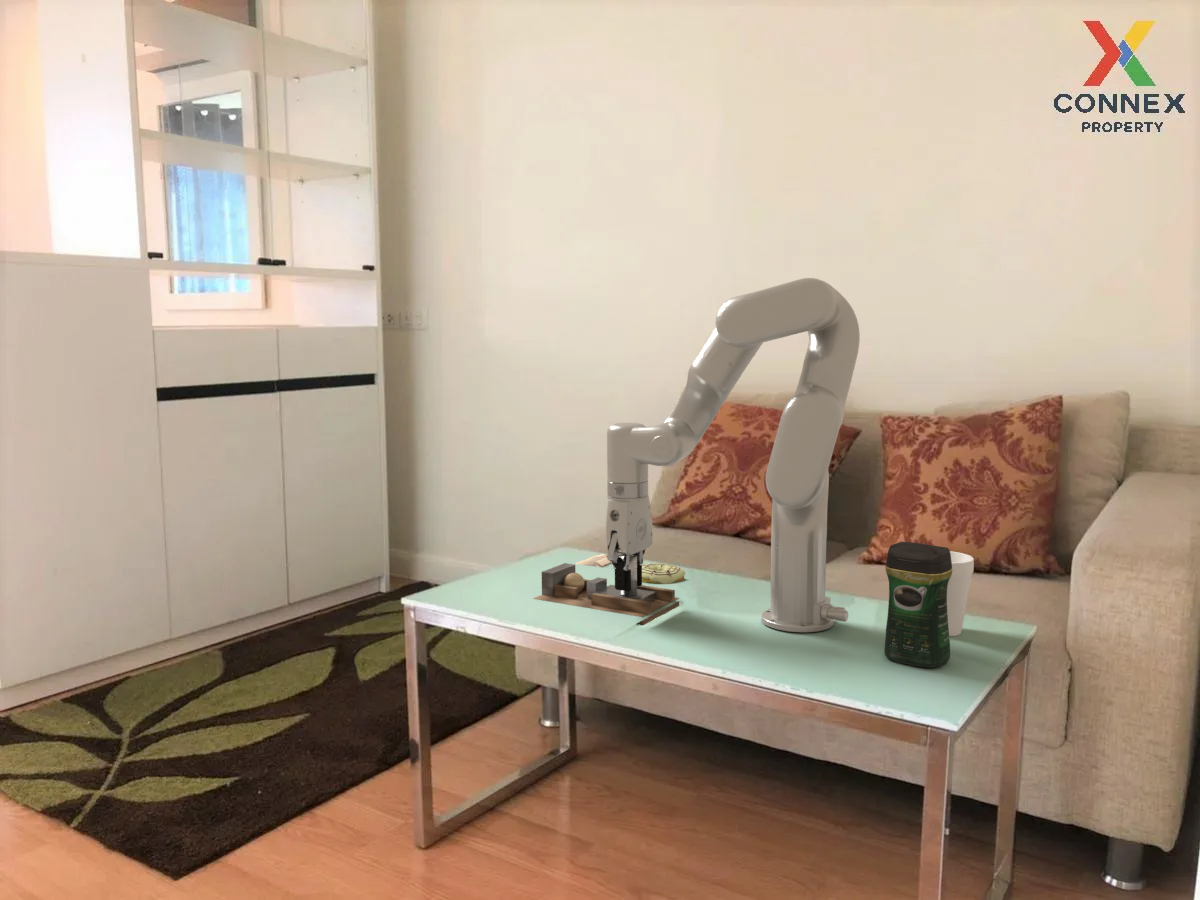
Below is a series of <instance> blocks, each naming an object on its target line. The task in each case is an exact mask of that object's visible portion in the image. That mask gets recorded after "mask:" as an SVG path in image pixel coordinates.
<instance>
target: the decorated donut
mask: <svg viewBox="0 0 1200 900" xmlns="http://www.w3.org/2000/svg"><path fill="white" fill-rule="evenodd" d="M685 576H686V572H685V570H684V569H683V568H681V567H679V566H676V565H672V564H666V563H657V562H656V563H646V564H644V563H643V564H642V583H646V584H647V583H649V584H661V585H666V584H667V585H668V584H673V583H679V582H681V581H683V580H685Z"/></svg>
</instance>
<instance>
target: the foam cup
mask: <svg viewBox="0 0 1200 900" xmlns="http://www.w3.org/2000/svg"><path fill="white" fill-rule="evenodd" d="M950 554H951V562H952V575H951V577H950V579H949V582H948V586H947V615H948V628H949V637H956V636H959V635H961V633H962V630H963V626H964V619H965V614H966V609H967V602H968V599H969V591H970V587H971V581H972V577H973V576H972V574H973V573H974V568H975V566H974V565H975V562H974V561H975V558H974V557H973V556H972V555H969V554H966V553H964V552H963V553H962V552H958V551H953V550H952V551H950Z"/></svg>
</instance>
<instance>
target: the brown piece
mask: <svg viewBox="0 0 1200 900" xmlns="http://www.w3.org/2000/svg"><path fill="white" fill-rule="evenodd" d="M570 573H576V564H575V563H574V564H572V563H566V562H564V563H561V564H559V565H556V566H554V567H550V568H548V569H546V570H543V571H541V594H540V595H537V596H536V597H533V598H532V599H533V600H536V601H537V600H539V601H543V602H550V603H556V604H563V605H567V606H574V607H580V608H584V609H591V610H597V611H598V610H599V611H604V612H610V613H614V614H615V613H616V614H622V615H628V616H634V617H639V618H644V619H642V620H641V621H638V622H637V623H636V624H635V625H639V624H640V626H644V625H646V624H648V623H651V622H652V621H654V620H656V619H657V617H658V618H659V617H662V615H665V614H667V613H669V612H670V610H671V611H673V610H674V609H676V608H678V607H680V598H679V597H676V596H675V595H676V594H675V593H676V591H675V589H671V588H670V589H669V588H663V587H658V586H657V587H655V586H649V585H643V584H642V585H641V586H637V589H642V590H649V591H655V592H656V600H654V601H652V602H650V601H643V600H637V599H631V598H624V597H618V596H612V595H605V594H599V593H593V594H591V598H587V582H588V581H591V580H592V579H591V580H590V579H585V578H583V579H584V587H583V589H582V590H581V591H580V592H579V593H578V588H577V587H571V586H564V579H565V577H566V576H567V575H568V574H570ZM677 600H679V601H677ZM675 601H676V602H675ZM673 602H675V603H673ZM672 603H673V604H672ZM668 605H669V606H668ZM665 606H667V607H665ZM663 607H665V608H663ZM662 608H663V609H662ZM660 609H661V610H660ZM672 609H673V610H672ZM658 610H659V611H658ZM656 611H658V612H656ZM654 612H656V613H654ZM652 613H653V614H652ZM650 614H652V615H650ZM648 615H650V616H648ZM647 616H648V617H647ZM645 617H646V618H645ZM655 618H656V619H655Z"/></svg>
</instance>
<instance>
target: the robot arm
mask: <svg viewBox="0 0 1200 900" xmlns="http://www.w3.org/2000/svg"><path fill="white" fill-rule="evenodd" d="M714 323H715V327H714V328H713V330H712V331H711V333H710V335H709V336H708V338H707V339H706V341H705V342H704V344H703V345H702V347H701V349H700V350H699V351H698V353H697V354H696V356H695V358H694V359H693V361H692V362H691V364H690V365H689V368H688V371H687V378H686V379H687V380H686V383H685V388H684V389H683V392H682V394H681V395H680V398H679V399H678V401H677V403H676V404H675V406H674V407H673V408H672V410H671V412H670V413H669V414H668V417H667V418H666V419H665V421H664V422H663V423H660V424H658V425H653V426H652V425H651V426H645V424H643V423H637V422H618V423H614V424H611V425H609V427H608V428H607V430H606V464H607V465H606V468H607V469H606V470H607V471H606V473H607V474H606V475H607V489H606V490H607V499H608V502H607V507H606V519H605V520H606V521H605V545H606V550H607V559H608V560H609V561H611V562H612V563H611V565H612V569H614V585H615V589H616V590H622V591H630V590H631V570H629V559H630V555H636V556H637V586H641V585H643V582H642V565H644V554H645V553H646V552H645V551H646V550H647V549H649V548H650V547H651V546H652V544H653V542H654V541H653V537H654V536H653V520H652V519H653V518H652V509H651V501H650V498H649V497H650V496H649V465H651V466H657V467H671V466H674V465H675V464H677V463H679V462H680V461H682V460H683V459H685V458H686V457H688V456H690V454H691V453H692V452H693V451H694V449H695V448H696V447H697V445H698V444H699V442H700V441H701V439H702V438H703V436H704V435H705V433H706V432H707V430H708V429H709V428H710V425H711V424H712V422H713V420H714V419H715V418H716V416H717V414H718V412H719V411H720V409H721V408H722V407H723V405H724V404H725V402H726V400H727V399H728V398H729V396H730V393H731V392H732V390H733V389H734V387H735V386H736V385H737V383H738V381H739V380H740V379H741V376H742V375H743V373H745V370H746V369H747V367H748V366H749V365H750V363H751V361H752V360H753V358H754V357H755V356H756V354H757V352H758V351H759V349H760V348H761V346H762V345H763V343H766V342H770V341H774V340H777V339H782V338H786V337H789V336H793V335H797V334H802V333H806V332H807V336H808V345H807V349H806V353H805V356H804V360H803V364H802V368H801V372H800V375H799V376H800V377H799V379H798V382H797V385H796V389H795V391H794V393H793V395H792V396H790V398H789V399H788V400H787V401H786V404H785V405H784V408H783V411H782V412H781V413H782V414H781V417H780V420H779V422H778V423H779V424H778V427H777V431H776V435H775V439H774V443H773V446H772V450H771V453H770V456H769V462H768V465H767V468H766V473H765V485H766V489H767V492H768V494H769V495H770V498H772V500H771V501H772V507H771V536H770V608H768V609H766V610H764V611H763V612H762V613H761V622H762V623H763V624H764V625H765V626H767V627H769V628H772V629H774V630H779V631H784V632H791V633H814V632H821V631H825V630H828V629H830V628H832V627H833V626H834V624H835V621H839V622H845V623H846V622H847V621H848V619H849V610H846V607H843V606H834V605H833V604H832V603H831V597H829V596H826V583H827V582H826V576H827V575H826V573H827V571H826V569H827V538H828V537H827V536H828V534H827V533H828V532H827V531H828V505H829V504H828V501H829V486H830V483H829V482H830V475H829V474H830V473H829V467H830V464H831V460H832V456H833V452H834V450H835V447H836V446H835V445H836V442H837V439H838V435H839V431H840V428H841V426H842V425H843V420H844V415H845V408H846V403H847V398H848V394H849V391H850V388H851V383H852V379H853V375H854V371H855V367H856V362H857V358H858V354H859V349H860V342H861V341H860V339H861V338H860V327H859V326H860V325H859V322H858V319H857V315H856V313H855V310H854V309H853V307H852V305H851V304H850V303H849V301H848V300H847V299H846V298H845V297H844V296H843V295H842V294H841V292H839V291H838V290H837V289H836V288H834V287H833V286H832V285H831V284H829V283H828V282H826V281H825V280H821V279H819V278H815V277H804V278H800V279H796V280H792V281H788V282H786V283H782V284H779V285H774V286H771V287H767V288H764V289H762V290H761V289H760V290H758V291H754V292H753V291H752V292H750V293H749V292H748V293H745V294H740V295H737V296H734V297H731V298H729V299H727V300H726V301H724V302H723V304H721V306H720V307H719V309H718V311H717V313H716V316H715V322H714ZM620 556H624V561H623V559H622V558H621V557H620Z"/></svg>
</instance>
